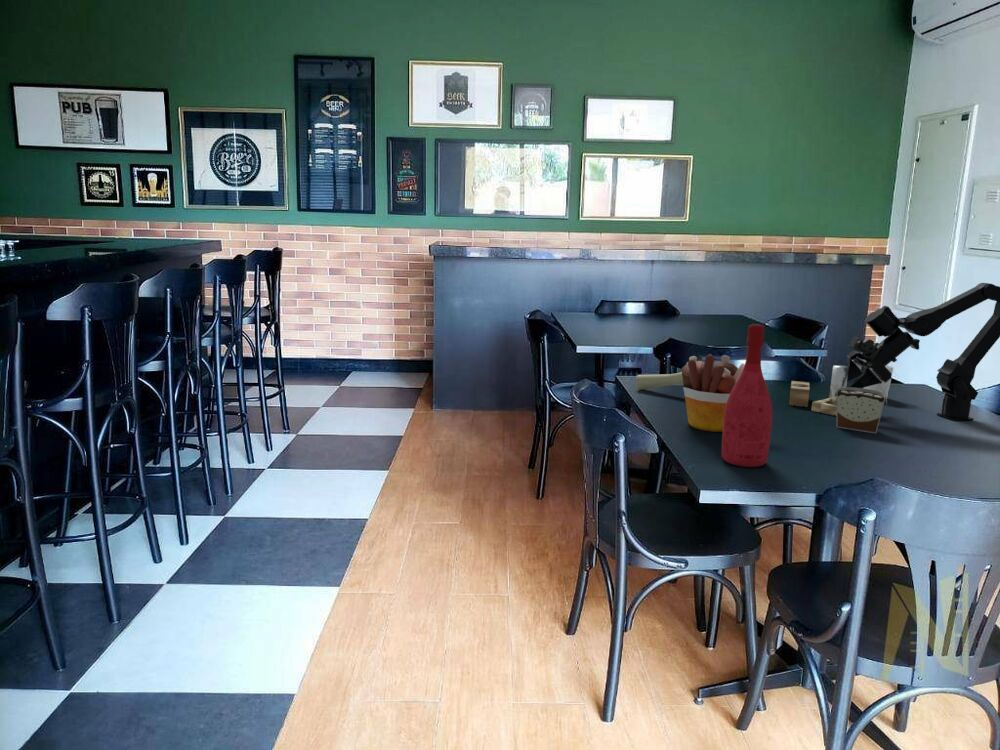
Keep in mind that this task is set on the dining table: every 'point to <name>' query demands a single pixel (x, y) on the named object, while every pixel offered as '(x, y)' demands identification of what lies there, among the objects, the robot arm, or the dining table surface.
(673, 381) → the flower vase
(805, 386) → the beam
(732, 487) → the dining table surface
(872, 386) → the white cup
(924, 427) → the dining table surface
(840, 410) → the food container
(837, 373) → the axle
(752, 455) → the wine bottle
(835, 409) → the v cradle
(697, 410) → the bucket of meat
